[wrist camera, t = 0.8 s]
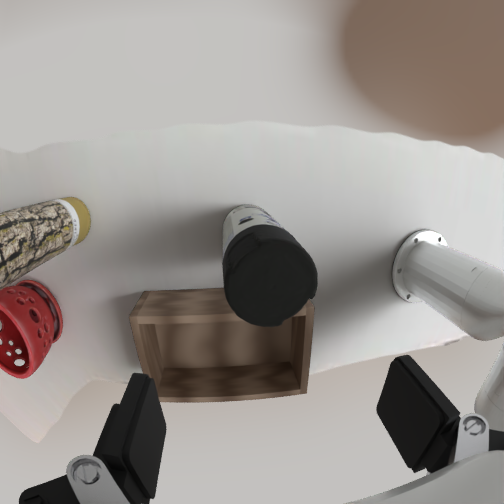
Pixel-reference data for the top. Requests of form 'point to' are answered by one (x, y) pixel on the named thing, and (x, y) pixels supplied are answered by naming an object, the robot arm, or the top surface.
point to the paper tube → (39, 235)
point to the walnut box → (218, 348)
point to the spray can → (264, 268)
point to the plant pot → (27, 326)
